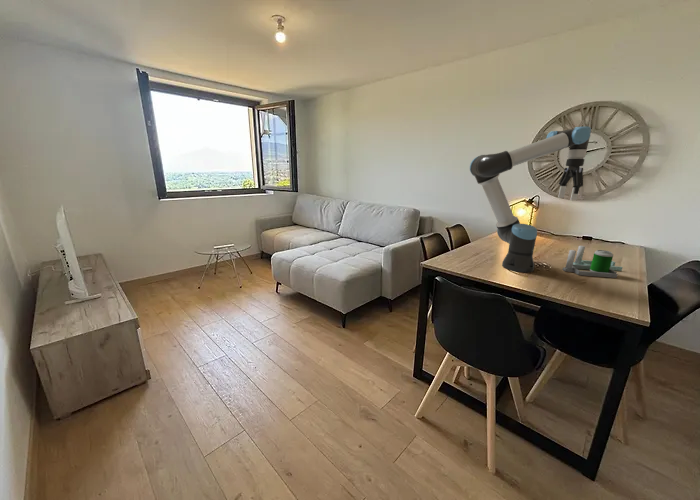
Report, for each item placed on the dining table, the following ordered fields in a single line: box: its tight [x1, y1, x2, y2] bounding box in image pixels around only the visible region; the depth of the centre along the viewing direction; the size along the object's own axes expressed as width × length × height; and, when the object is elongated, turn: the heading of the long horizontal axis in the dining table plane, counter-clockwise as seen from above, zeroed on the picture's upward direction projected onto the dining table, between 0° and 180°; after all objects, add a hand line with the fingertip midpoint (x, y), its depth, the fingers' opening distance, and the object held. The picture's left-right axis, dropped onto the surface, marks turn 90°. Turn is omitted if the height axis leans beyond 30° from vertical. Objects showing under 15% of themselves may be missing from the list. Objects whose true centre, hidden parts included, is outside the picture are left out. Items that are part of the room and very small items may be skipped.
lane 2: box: [573, 245, 623, 272], centre depth 160 cm, size 21×9×11 cm, turn 78°
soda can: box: [589, 249, 614, 273], centre depth 150 cm, size 8×8×12 cm
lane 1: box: [562, 249, 618, 279], centre depth 151 cm, size 21×12×11 cm, turn 78°
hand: (566, 198), depth 158 cm, fingers open, 13 cm apart
